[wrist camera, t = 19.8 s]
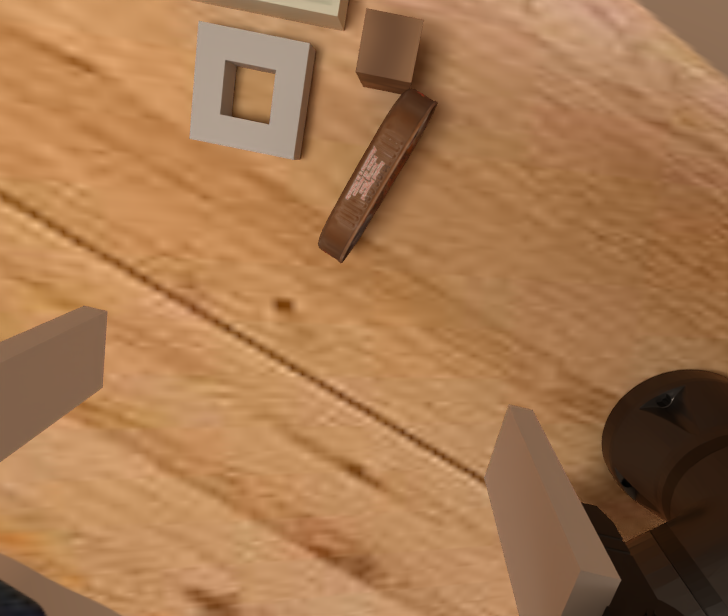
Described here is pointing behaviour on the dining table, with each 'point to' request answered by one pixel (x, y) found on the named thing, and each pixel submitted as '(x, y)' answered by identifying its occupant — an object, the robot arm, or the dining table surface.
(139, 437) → the dining table surface
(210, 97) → the socket block
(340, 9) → the tray
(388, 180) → the tin
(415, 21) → the wooden block
